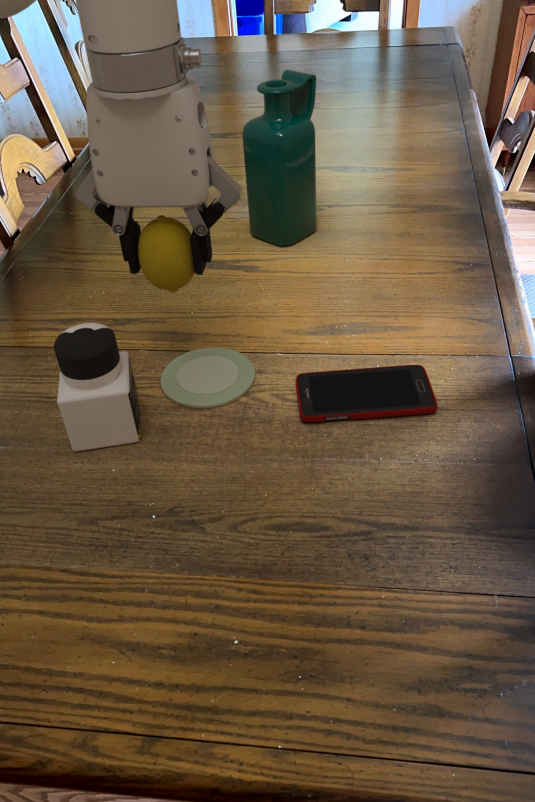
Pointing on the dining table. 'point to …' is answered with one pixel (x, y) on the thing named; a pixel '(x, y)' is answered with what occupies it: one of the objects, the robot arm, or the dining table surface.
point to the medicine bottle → (96, 388)
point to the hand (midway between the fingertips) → (169, 265)
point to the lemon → (166, 253)
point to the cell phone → (364, 393)
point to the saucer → (207, 377)
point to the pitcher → (282, 161)
